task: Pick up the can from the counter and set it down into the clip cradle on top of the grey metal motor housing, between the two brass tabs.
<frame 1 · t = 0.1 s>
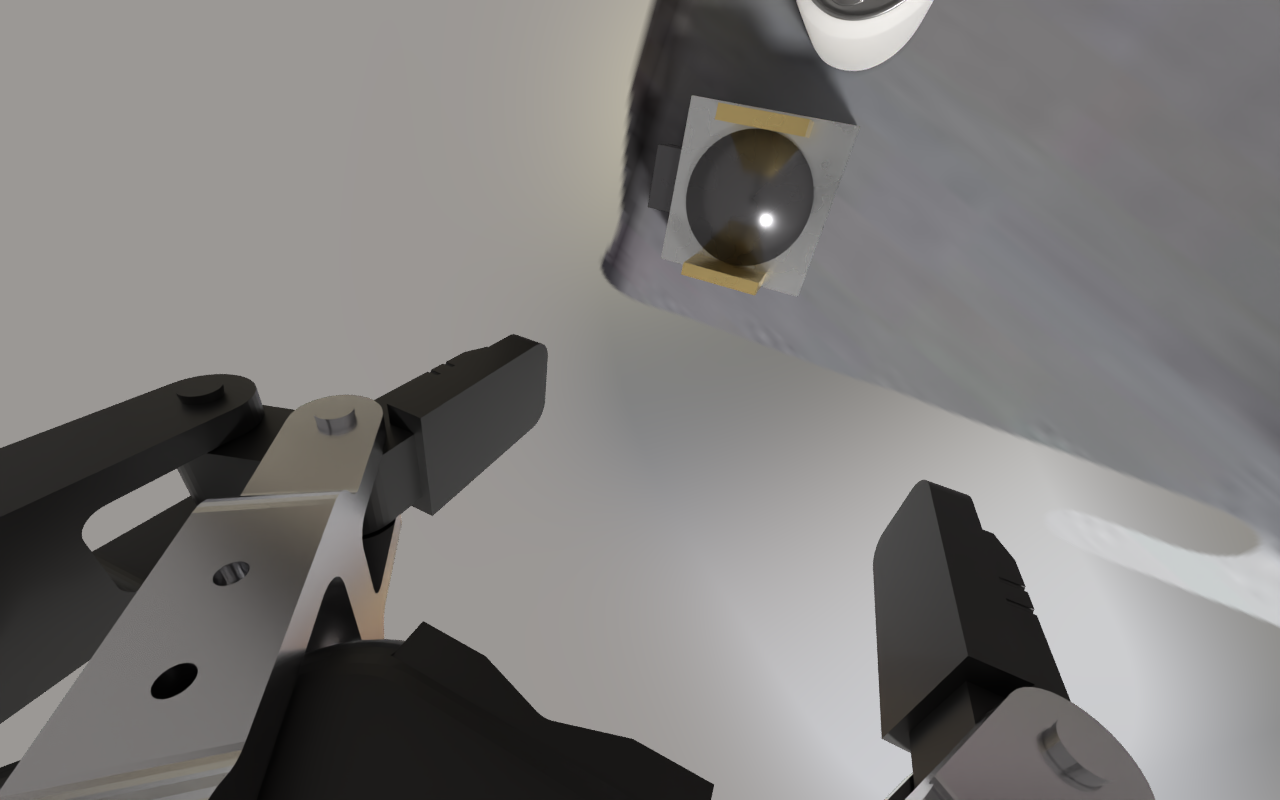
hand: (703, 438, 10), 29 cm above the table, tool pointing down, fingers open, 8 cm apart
can: (866, 6, 27), on the table
motor housing: (760, 194, 33), on the table
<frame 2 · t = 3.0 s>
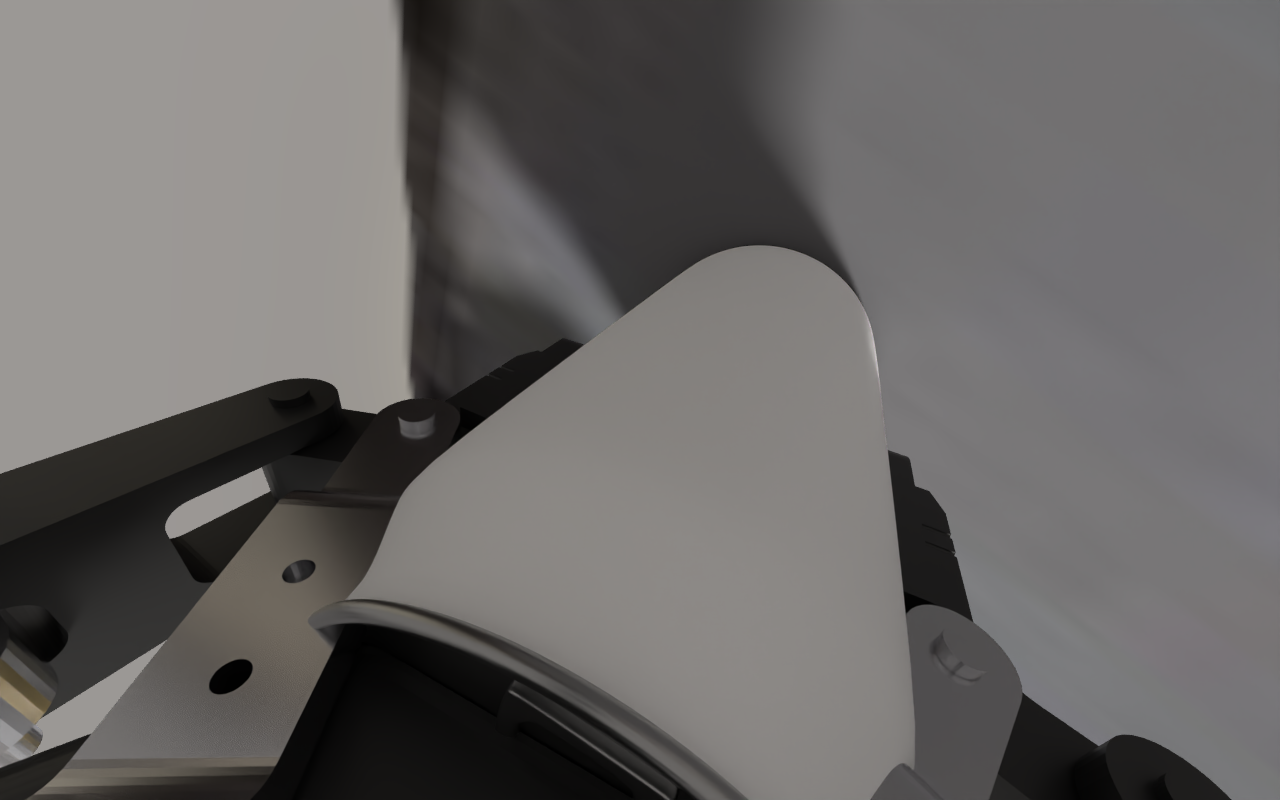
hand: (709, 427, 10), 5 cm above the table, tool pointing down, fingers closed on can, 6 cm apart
can: (756, 349, 14), on the table, touching gripper
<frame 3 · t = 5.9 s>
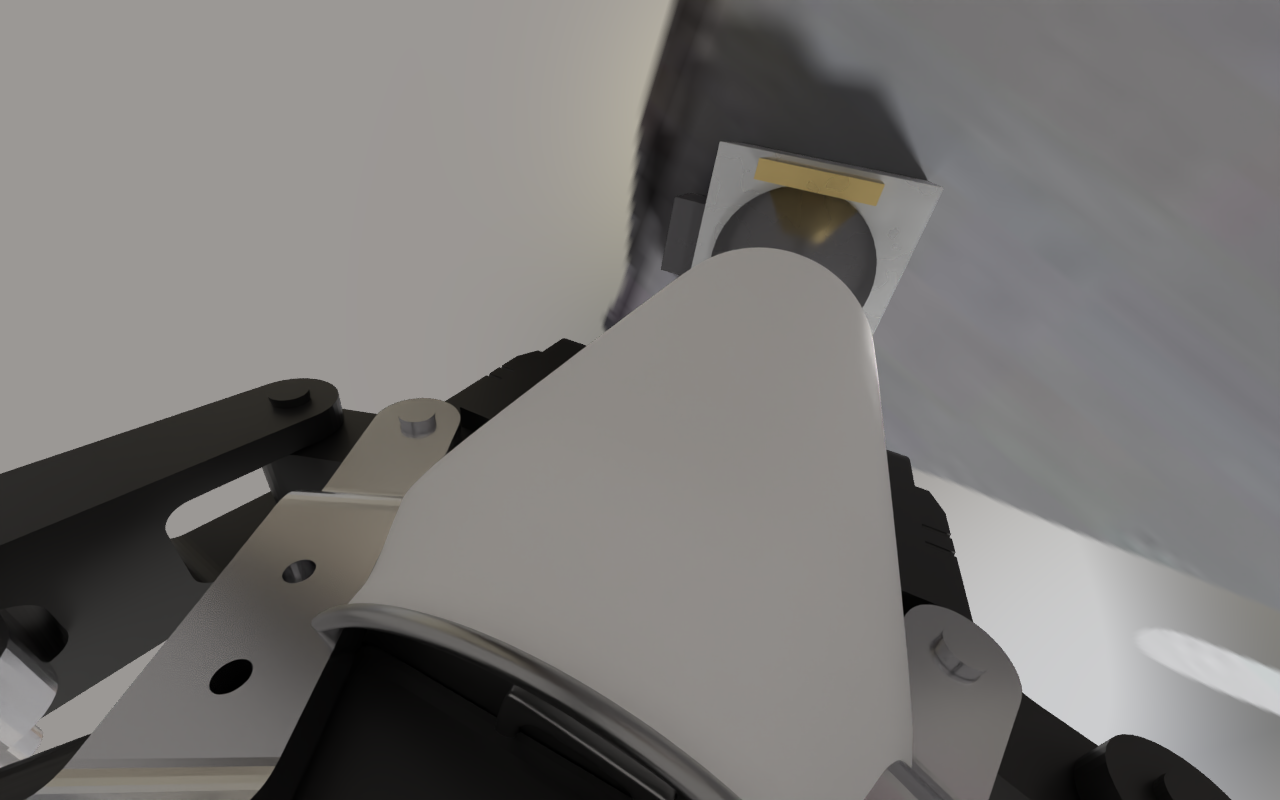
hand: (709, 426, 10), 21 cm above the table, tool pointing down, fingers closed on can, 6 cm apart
can: (756, 351, 14), point 16 cm above the table, touching gripper
motor housing: (797, 253, 27), on the table
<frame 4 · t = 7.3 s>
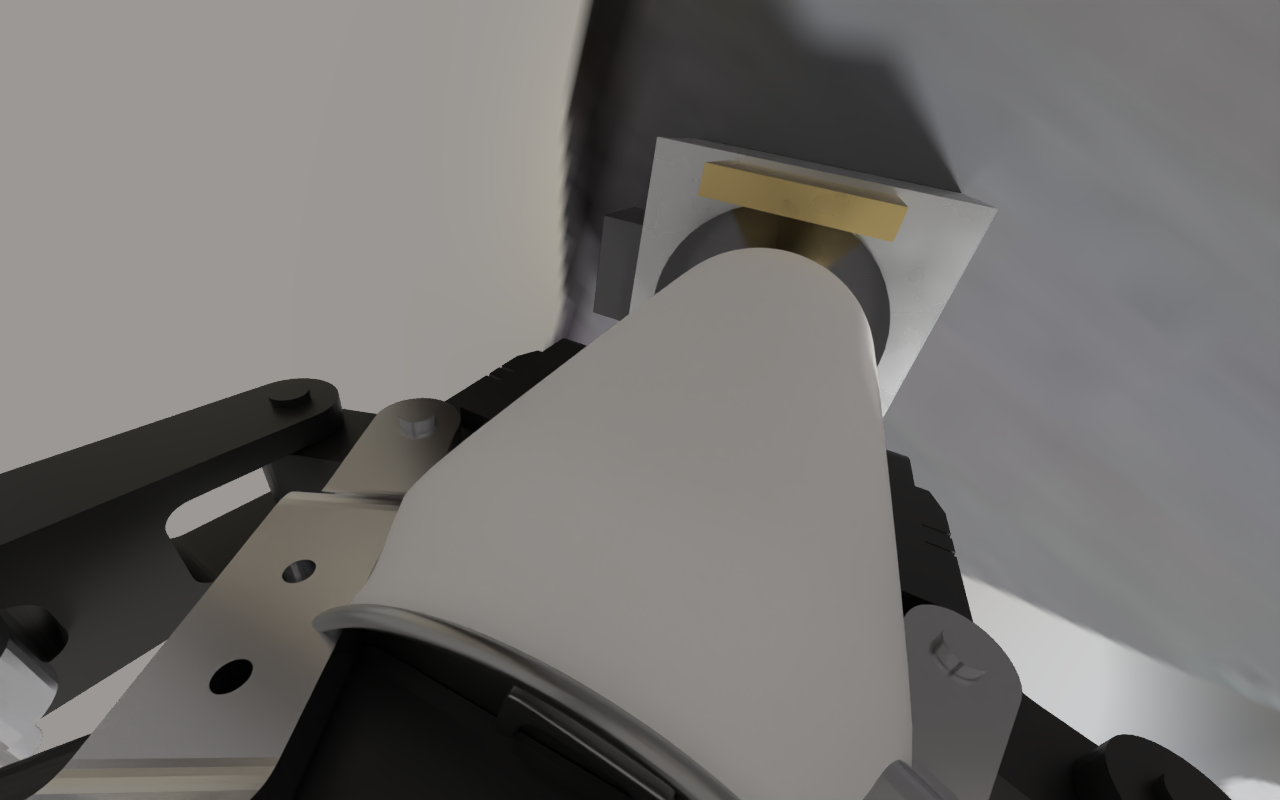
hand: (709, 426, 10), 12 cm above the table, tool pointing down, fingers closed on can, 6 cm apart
can: (756, 351, 14), point 8 cm above the table, touching gripper
motor housing: (779, 288, 20), on the table
when the fingers open (11 cm above the table, at t = 8.6 s): can stays where it is, resting on motor housing.
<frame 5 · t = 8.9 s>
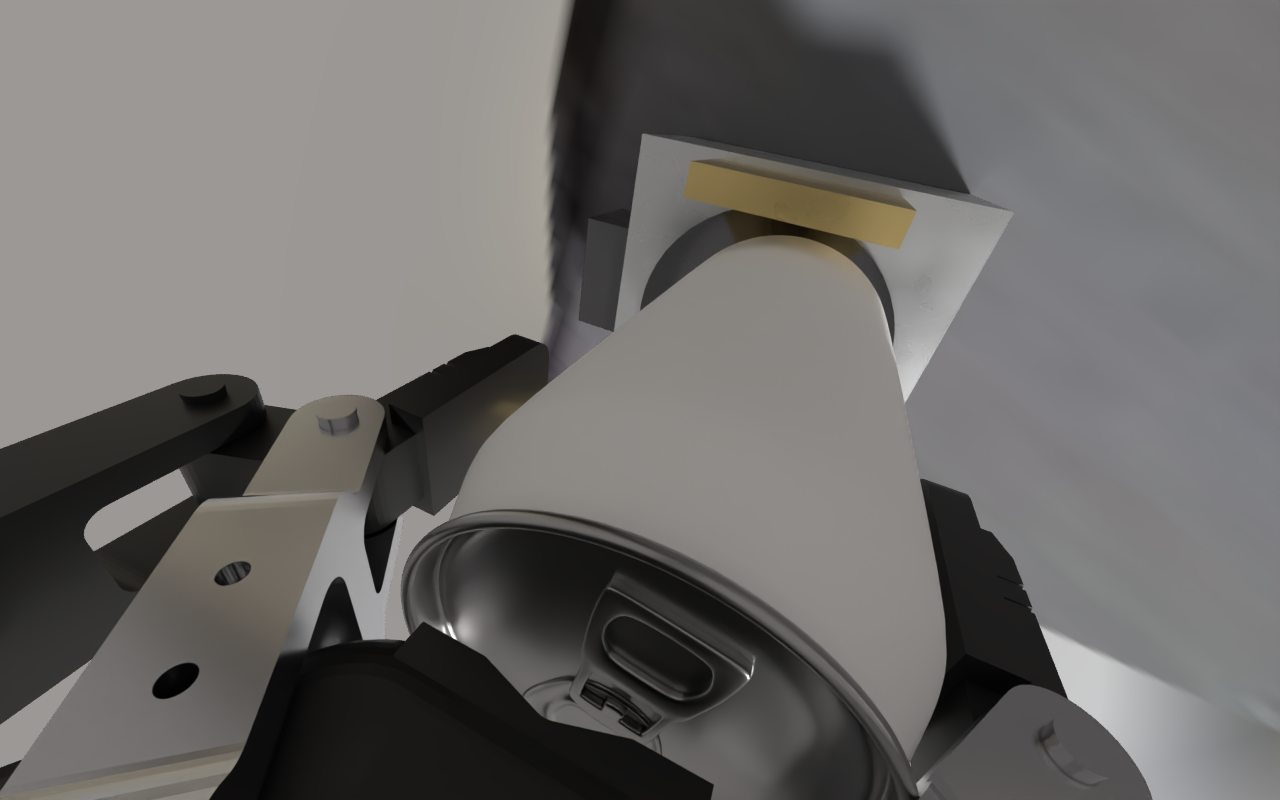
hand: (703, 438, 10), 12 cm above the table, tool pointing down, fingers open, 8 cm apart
can: (772, 336, 15), point 5 cm above the table, touching motor housing
motor housing: (776, 295, 19), on the table
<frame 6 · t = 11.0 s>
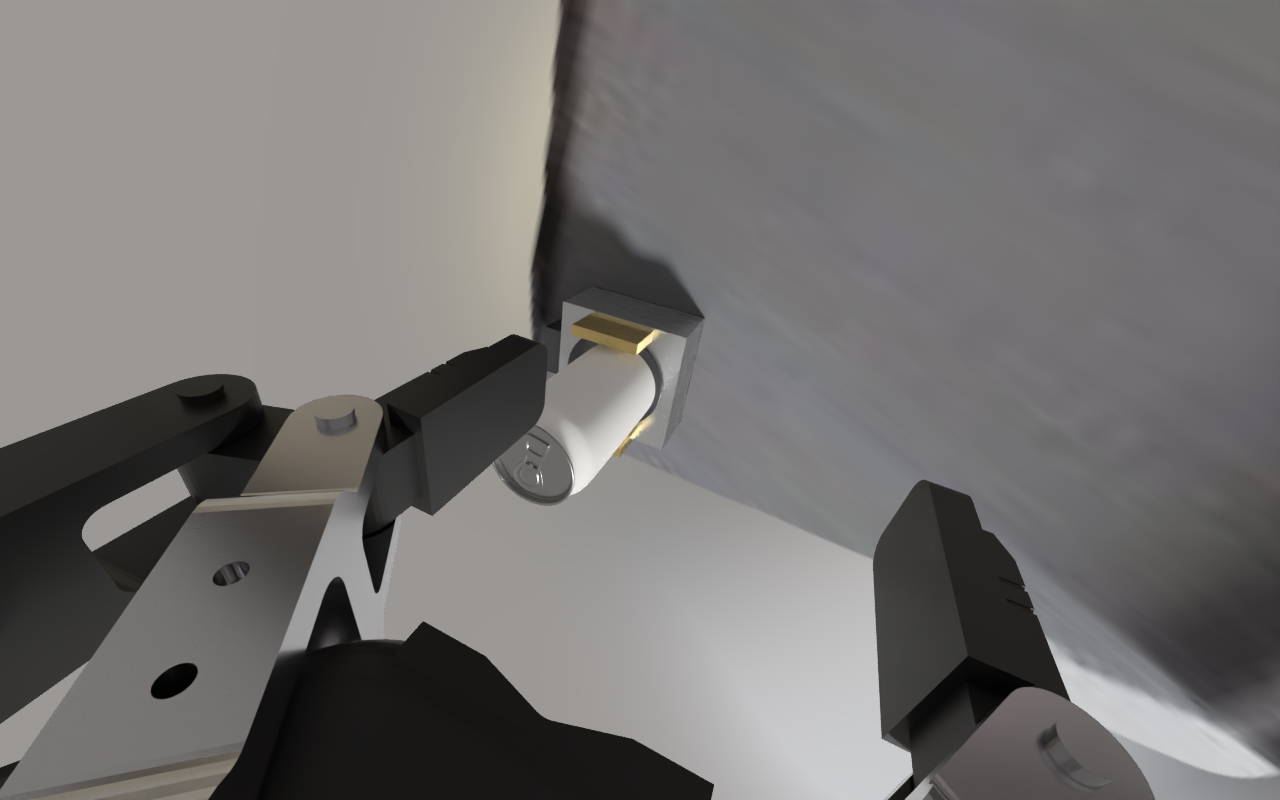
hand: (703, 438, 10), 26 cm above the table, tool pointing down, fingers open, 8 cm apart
can: (619, 379, 36), point 5 cm above the table, touching motor housing
motor housing: (638, 356, 40), on the table
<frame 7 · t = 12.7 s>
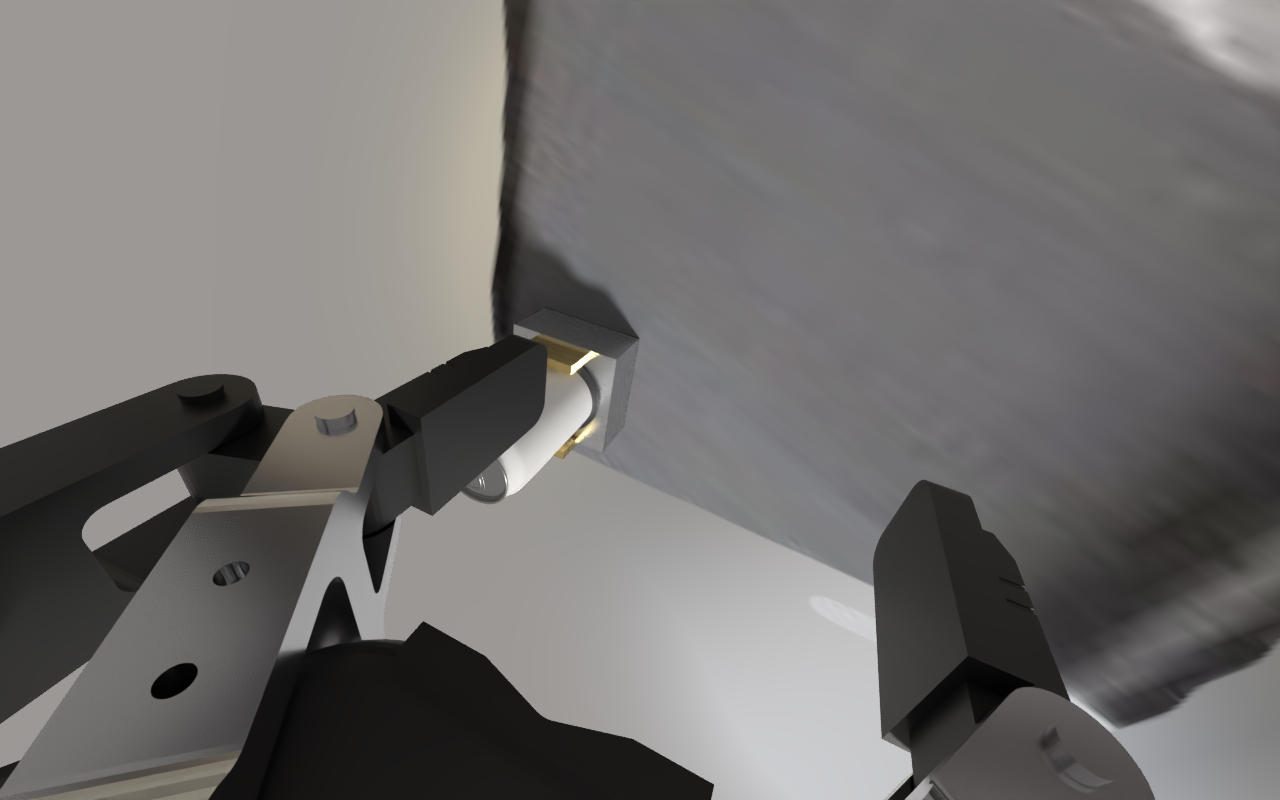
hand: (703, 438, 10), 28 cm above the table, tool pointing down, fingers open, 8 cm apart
can: (563, 391, 41), point 5 cm above the table, touching motor housing
motor housing: (585, 368, 45), on the table
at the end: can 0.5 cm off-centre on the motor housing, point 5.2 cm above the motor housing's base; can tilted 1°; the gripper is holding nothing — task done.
